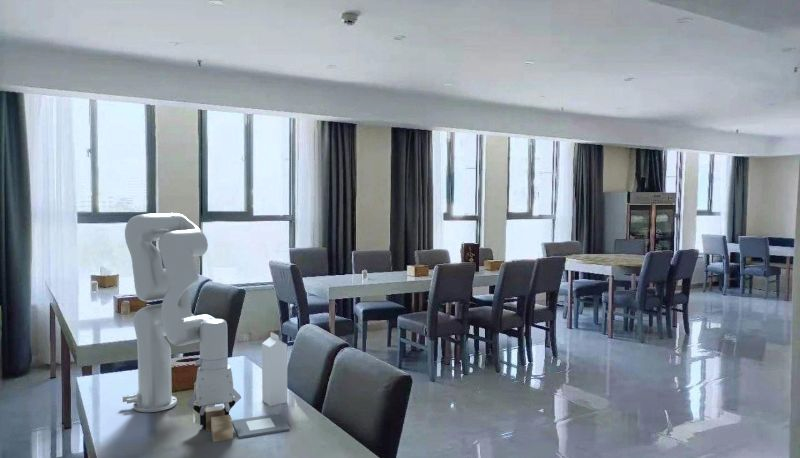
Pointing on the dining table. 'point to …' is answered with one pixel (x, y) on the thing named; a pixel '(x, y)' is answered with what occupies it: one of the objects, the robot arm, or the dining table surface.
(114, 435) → the dining table surface
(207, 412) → the walnut block
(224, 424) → the oak block
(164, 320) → the robot arm
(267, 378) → the milk
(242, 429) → the mat
